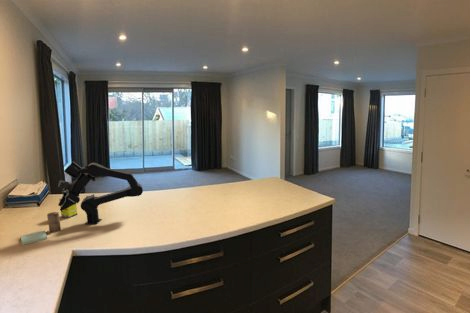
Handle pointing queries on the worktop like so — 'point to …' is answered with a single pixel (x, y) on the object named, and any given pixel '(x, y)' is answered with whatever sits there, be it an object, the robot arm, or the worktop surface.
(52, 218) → the walnut canister
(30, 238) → the sage green board
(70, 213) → the supplement box
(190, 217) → the worktop surface
